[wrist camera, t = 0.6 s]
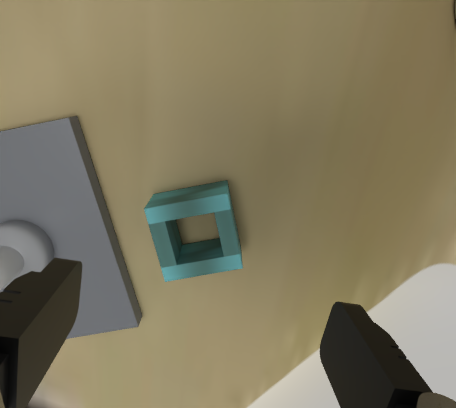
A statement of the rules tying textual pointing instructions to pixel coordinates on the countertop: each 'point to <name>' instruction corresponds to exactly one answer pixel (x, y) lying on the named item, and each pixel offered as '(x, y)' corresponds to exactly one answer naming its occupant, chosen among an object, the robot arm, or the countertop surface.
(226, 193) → the collar
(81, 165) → the shaft stand
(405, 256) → the countertop surface
